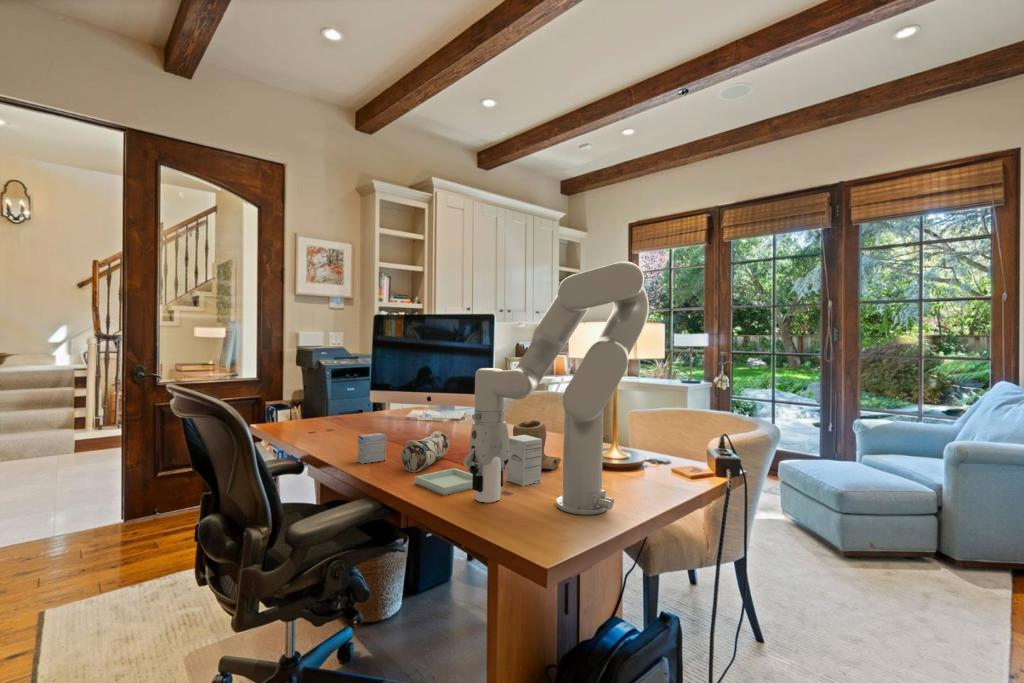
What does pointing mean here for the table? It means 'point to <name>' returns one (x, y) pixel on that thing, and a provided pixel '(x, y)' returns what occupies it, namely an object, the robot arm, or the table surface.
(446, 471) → the tray
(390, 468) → the table surface
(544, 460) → the brown boot
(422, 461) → the pencil case
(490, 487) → the can
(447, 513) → the table surface
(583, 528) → the table surface
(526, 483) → the supplement box
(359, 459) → the medicine box
